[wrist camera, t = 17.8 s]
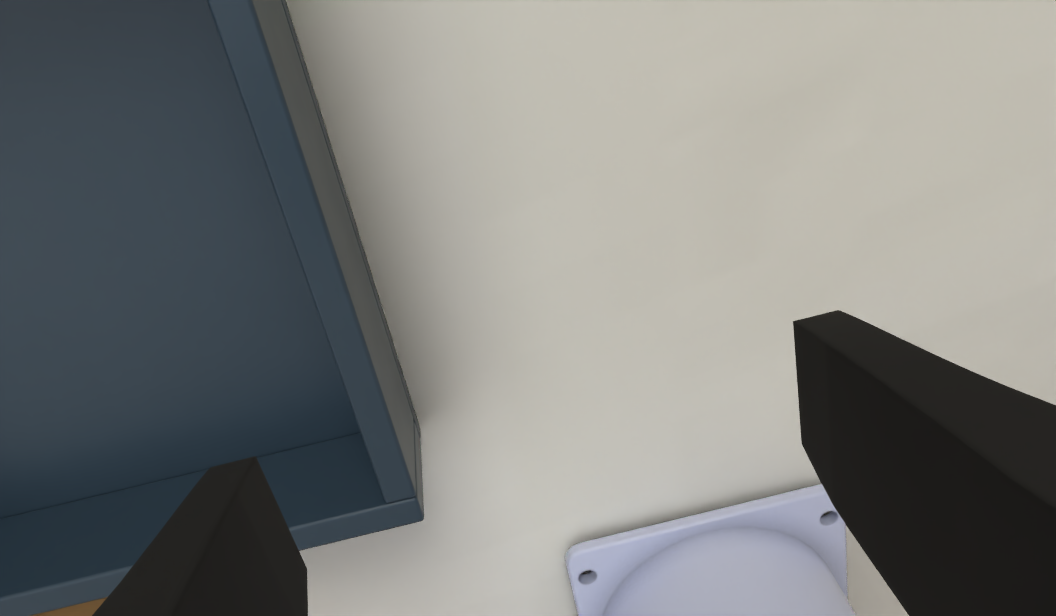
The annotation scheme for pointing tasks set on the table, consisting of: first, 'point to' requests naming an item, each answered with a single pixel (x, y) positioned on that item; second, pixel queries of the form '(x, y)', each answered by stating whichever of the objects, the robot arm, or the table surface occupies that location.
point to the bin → (178, 292)
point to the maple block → (76, 609)
